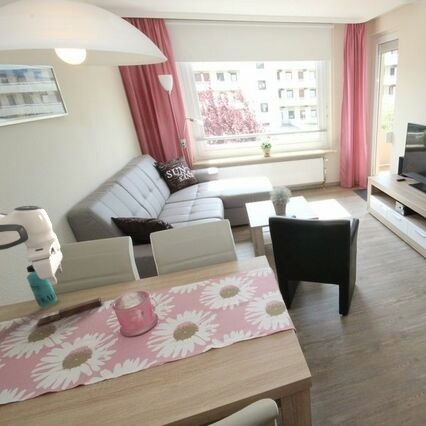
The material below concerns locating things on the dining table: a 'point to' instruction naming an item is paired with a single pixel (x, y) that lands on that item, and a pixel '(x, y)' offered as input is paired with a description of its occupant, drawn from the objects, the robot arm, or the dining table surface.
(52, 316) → the brown long bar
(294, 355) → the dining table surface
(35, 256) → the robot arm
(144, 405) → the dining table surface
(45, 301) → the beverage bottle
